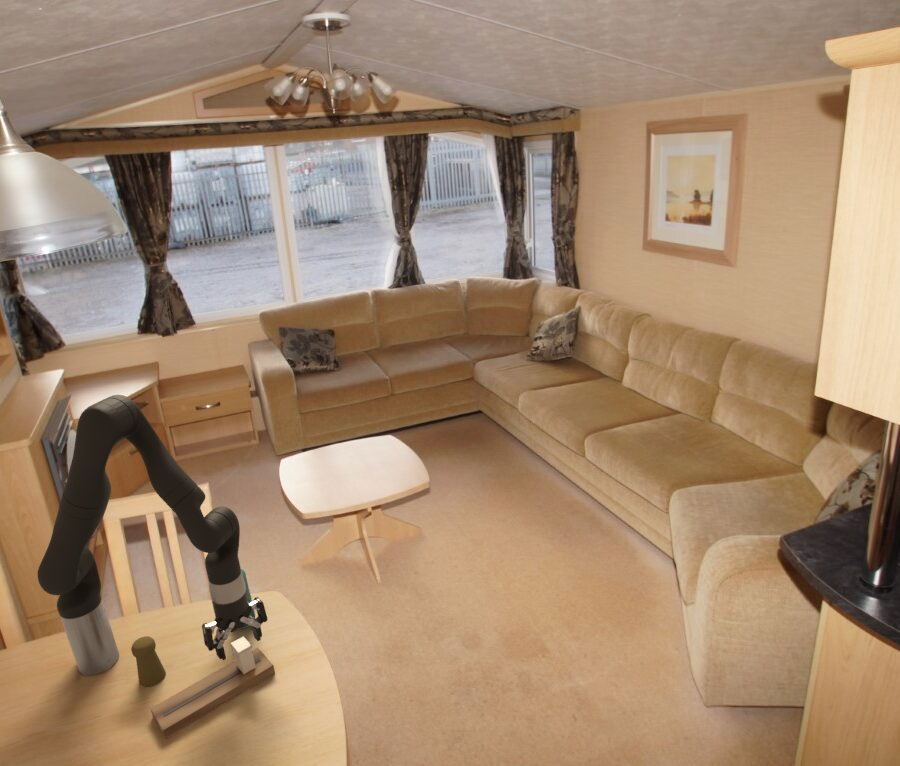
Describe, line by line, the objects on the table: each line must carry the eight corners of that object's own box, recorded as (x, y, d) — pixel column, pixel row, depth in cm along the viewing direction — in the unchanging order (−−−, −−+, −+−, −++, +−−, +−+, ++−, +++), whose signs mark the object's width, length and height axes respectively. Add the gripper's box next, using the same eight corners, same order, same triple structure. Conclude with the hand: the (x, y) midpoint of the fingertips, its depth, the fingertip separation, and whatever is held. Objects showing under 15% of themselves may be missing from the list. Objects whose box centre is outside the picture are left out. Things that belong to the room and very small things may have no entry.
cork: (156, 688, 160) (145, 652, 156) (133, 686, 162) (122, 649, 158) (171, 669, 166) (160, 633, 162) (148, 666, 167) (138, 631, 163)
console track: (152, 716, 153) (150, 708, 152) (259, 655, 168) (257, 647, 167) (165, 738, 147) (162, 729, 146) (275, 673, 162) (273, 664, 161)
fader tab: (235, 665, 162) (230, 643, 159) (248, 658, 164) (243, 636, 161) (243, 674, 159) (238, 652, 156) (256, 667, 161) (251, 645, 158)
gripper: (250, 570, 160) (261, 625, 166) (190, 598, 152) (204, 655, 158) (265, 584, 155) (275, 641, 161) (204, 615, 146) (217, 673, 152)
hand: (240, 648), depth 159 cm, fingers open, 8 cm apart
